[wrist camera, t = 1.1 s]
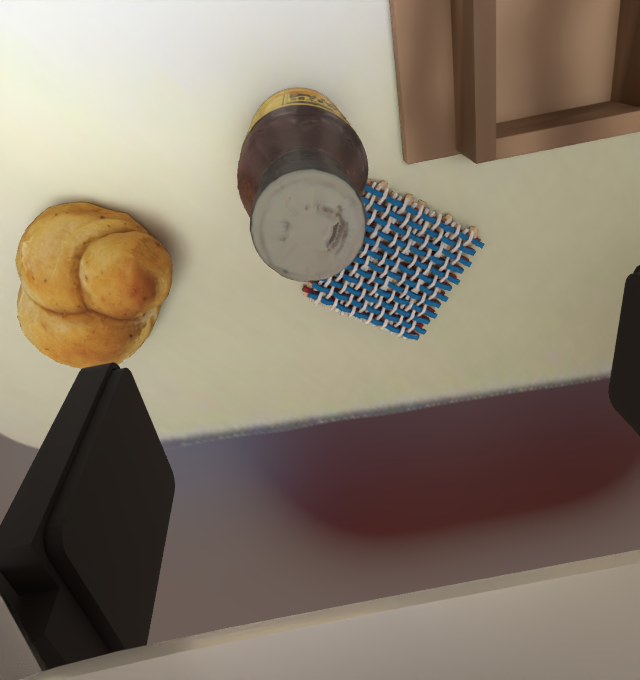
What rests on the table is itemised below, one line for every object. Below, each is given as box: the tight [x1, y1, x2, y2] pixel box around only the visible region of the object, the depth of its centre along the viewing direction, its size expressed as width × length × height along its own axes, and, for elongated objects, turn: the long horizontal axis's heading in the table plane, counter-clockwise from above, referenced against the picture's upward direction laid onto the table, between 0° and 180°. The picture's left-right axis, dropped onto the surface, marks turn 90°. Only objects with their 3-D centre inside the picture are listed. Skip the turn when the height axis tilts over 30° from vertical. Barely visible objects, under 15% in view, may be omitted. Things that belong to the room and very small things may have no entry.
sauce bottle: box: [237, 88, 368, 282], centre depth 27 cm, size 7×6×20 cm
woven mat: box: [302, 179, 484, 340], centre depth 40 cm, size 10×11×2 cm
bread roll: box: [16, 202, 172, 369], centre depth 36 cm, size 13×10×8 cm
